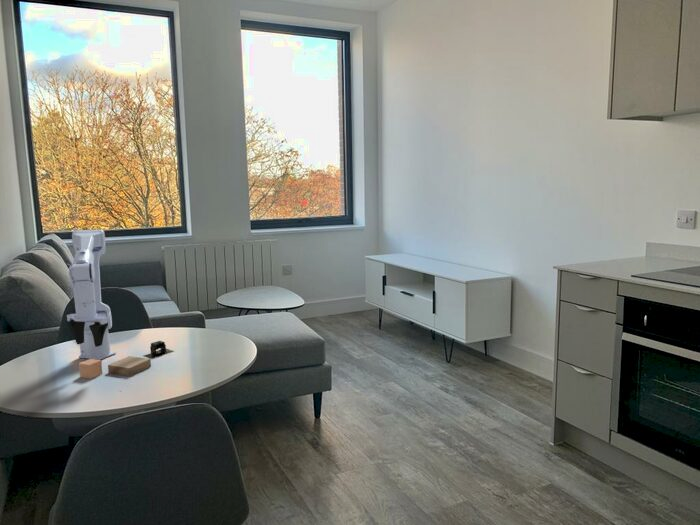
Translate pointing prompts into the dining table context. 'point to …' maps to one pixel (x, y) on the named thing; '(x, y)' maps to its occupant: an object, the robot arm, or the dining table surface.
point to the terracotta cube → (90, 368)
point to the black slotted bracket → (158, 353)
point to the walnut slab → (129, 366)
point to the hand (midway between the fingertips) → (89, 344)
